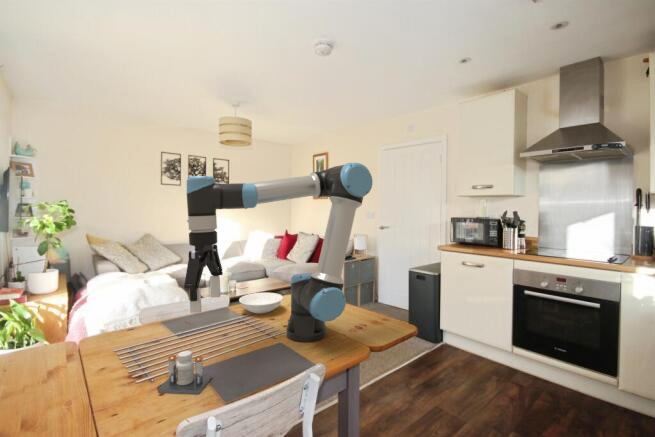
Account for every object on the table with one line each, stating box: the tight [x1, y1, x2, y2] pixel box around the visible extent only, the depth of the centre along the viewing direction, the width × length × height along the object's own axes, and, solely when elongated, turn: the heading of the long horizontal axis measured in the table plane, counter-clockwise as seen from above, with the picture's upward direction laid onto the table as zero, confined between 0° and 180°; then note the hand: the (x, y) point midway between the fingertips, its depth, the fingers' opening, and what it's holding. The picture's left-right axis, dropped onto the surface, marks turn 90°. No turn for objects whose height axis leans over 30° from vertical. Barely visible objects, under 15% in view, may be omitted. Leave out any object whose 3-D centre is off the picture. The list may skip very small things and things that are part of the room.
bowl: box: [238, 292, 284, 315], centre depth 148 cm, size 20×20×6 cm
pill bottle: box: [176, 350, 195, 385], centre depth 88 cm, size 4×4×8 cm
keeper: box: [157, 354, 213, 395], centre depth 88 cm, size 11×8×8 cm
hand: (206, 304), depth 93 cm, fingers open, 13 cm apart
